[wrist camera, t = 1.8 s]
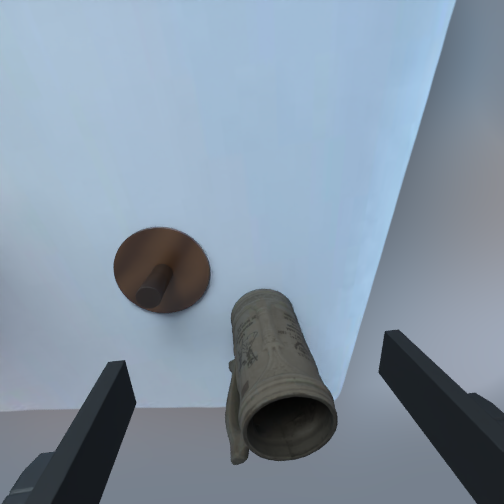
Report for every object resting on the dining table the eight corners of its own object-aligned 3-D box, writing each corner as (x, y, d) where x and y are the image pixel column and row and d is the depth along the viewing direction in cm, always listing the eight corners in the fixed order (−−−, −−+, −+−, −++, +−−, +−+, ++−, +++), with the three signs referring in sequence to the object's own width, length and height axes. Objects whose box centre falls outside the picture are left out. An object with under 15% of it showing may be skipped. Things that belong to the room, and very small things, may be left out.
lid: (98, 284, 38) (66, 315, 30) (142, 207, 35) (119, 219, 27) (181, 324, 41) (171, 361, 34) (227, 258, 38) (227, 281, 31)
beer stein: (252, 273, 40) (268, 382, 21) (307, 299, 42) (364, 416, 24) (210, 342, 44) (193, 480, 26) (262, 361, 47) (281, 499, 28)
